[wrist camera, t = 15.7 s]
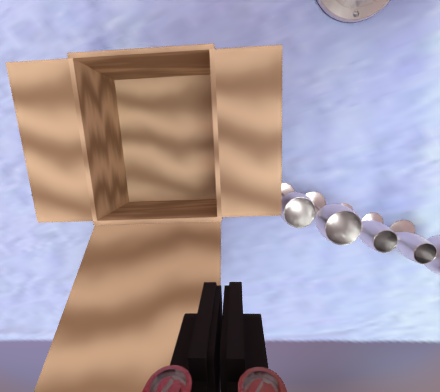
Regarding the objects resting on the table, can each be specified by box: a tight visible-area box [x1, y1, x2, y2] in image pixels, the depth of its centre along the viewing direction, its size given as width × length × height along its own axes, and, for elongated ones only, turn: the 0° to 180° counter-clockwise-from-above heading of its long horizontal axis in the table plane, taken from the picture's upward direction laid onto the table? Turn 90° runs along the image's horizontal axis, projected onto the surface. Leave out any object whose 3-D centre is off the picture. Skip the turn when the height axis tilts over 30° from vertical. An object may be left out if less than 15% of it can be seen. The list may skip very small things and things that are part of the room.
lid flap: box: [34, 222, 221, 392], centre depth 29 cm, size 22×18×1 cm
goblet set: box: [281, 183, 440, 274], centre depth 40 cm, size 28×6×13 cm, turn 73°
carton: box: [6, 44, 282, 225], centre depth 39 cm, size 22×34×12 cm, turn 93°
